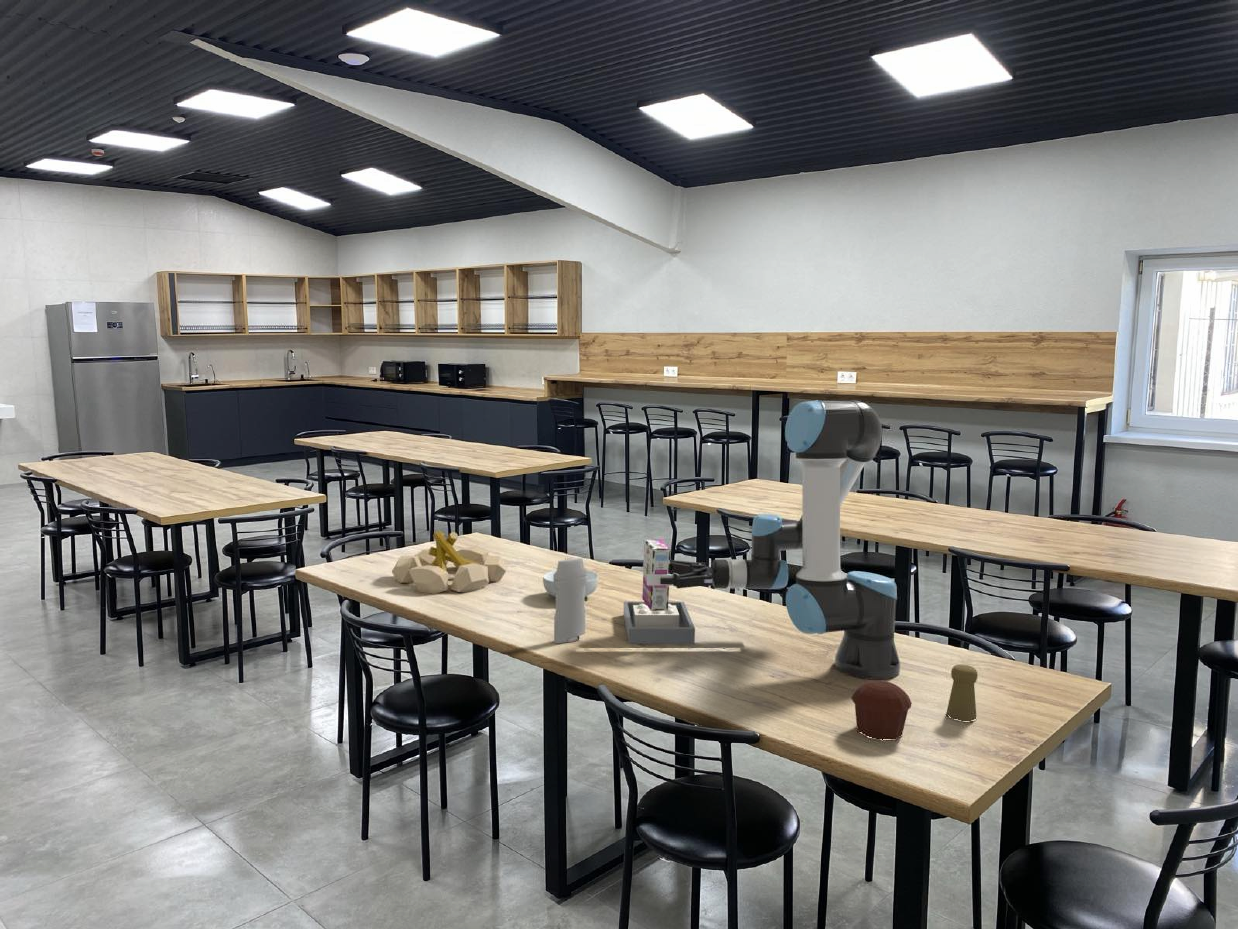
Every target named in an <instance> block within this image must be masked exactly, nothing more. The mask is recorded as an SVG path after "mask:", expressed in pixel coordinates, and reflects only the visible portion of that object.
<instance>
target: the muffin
mask: <svg viewBox="0 0 1238 929" xmlns="http://www.w3.org/2000/svg"><path fill="white" fill-rule="evenodd" d="M850 700H851V701H852V702H853V704H854V710H855V719H856V720H855V723H856V728H857V727H858V728H857V731H859V732H862V733H863V734H865V735H866V736H869V737H872V738H876V739H882V740H883V739H896V738H897V737H899V736H901V735H902V736H903V733H904V728H905V724H906V721H907V716H908V711H909V710H910V709H911V707H912V705H913V703H912V701H911V699H910V696H909V695H908V693H906V692H905V690H904V689H902V688H901V687H900V686H898V685H897V684H895V683H892V682H890V681H885V680H871V681H868V682H866V683H863V684H862V683H861V685H859V686H858V687H857V688H856V689H855V690H854V692H853V693H852V695H851V697H850ZM866 736H865V737H866ZM902 736H901V737H902ZM899 738H900V737H899ZM876 739H875V740H876ZM897 739H898V738H897ZM897 739H896V740H897Z"/></svg>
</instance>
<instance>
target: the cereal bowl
mask: <svg viewBox="0 0 1238 929" xmlns="http://www.w3.org/2000/svg"><path fill="white" fill-rule="evenodd" d="M556 571H557V569H556V570H551V571H549V572H546V573H545V574H543V576H542V583H543V586H544V590H545V591H546V592H547V593H548V594H549V595H551V596H553V597H555V591H556V589H555V588H554V584H553V581H554V580H553V579H554V573H555V572H556ZM599 580H600V579H599V574H598V573H597V572H595V571H593V570H588V569H587V582H586V583H585V585H584V586H585V592H584V593H585V594H584V595H585V597H587V596H590V595H592V594H593V593H594V592H595V591H596V590H597V589H598V585H599ZM585 597H584V598H585Z"/></svg>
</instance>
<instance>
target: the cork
mask: <svg viewBox="0 0 1238 929" xmlns="http://www.w3.org/2000/svg"><path fill="white" fill-rule="evenodd" d="M950 671H951V672H950V675H951V676H950V678H952V680H953V681H952V686H951V690H950V695H949V699H948V704H947V709H946V713H947V715H949V716H950V717H951V718H953V719H958V720H961V721H971V720H974V719H976V717H977V705H976V690H975V683H976V682H977V680H978V678H979V677H978V671H977V669H976V668H975V667H973V666H971V665H968V664H955V665H954V666H953V667H952V668H951V670H950ZM947 715H946V716H947ZM976 720H977V719H976Z"/></svg>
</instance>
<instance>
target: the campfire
mask: <svg viewBox="0 0 1238 929" xmlns="http://www.w3.org/2000/svg"><path fill="white" fill-rule="evenodd" d="M432 537H433V538H434V539H435V546H436V547H434V546H430V548H426V549H423V550H421V551H419V552H418V553H416V554H415V555H402V556H400V557H399V558H398V559H397V561H396V563H395V565H394V567H393V568H392V570H391V572H392V575H393V577H394V578H395V579H396V581H397V583H399V584H400V583H401V584H412V583H413V584H414V586H415V588H416V590H417V592H418V593H425V594H432V595H433V594H439V593H442V592H445V591H448V589H449V588H448V587H449V572H448V571H447V565H448V563H449V562H450V563H453V565H454V567H456V572H455V575H454V577H453V580H452V584H451V586H450V590H451V591H454V592H458V593H467V592H472V591H477V590H481V589H483V588H484V587H486V586H488V584H490V582H491V583H493V582H495V583H500V582H501V581H502V579H503V577H504V575H505V574H506V572H507V570H508V565H507V563H506V562H505V561H504V559H503V557H502V556H501V555H489V554H490V551H488V550H485V549H482V548H480V547H472V546H466V547H465V548H461V549H459V550H456V549H455V548H454V545H455V543H456V541H457V540H458V538H459V536H458V534H457V532H454V531H451V533H449V535H448V536H447V537H445V533H444V532H441V530H438V531H436V532H435V533H434V534H433V535H432Z"/></svg>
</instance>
